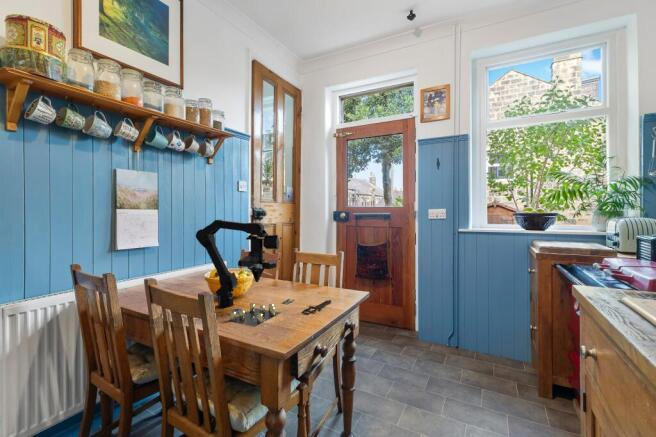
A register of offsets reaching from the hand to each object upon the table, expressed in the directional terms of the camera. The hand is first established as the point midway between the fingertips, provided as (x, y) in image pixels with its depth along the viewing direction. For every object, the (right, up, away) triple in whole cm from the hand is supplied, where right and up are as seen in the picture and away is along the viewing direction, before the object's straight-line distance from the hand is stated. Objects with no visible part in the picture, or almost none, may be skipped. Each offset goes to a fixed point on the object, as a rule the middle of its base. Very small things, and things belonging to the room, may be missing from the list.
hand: (256, 281), depth 144 cm
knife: (+29, -13, 0) cm, 32 cm away
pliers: (+10, -13, +3) cm, 16 cm away
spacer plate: (+2, -12, -14) cm, 19 cm away
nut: (-6, -13, -10) cm, 17 cm away
